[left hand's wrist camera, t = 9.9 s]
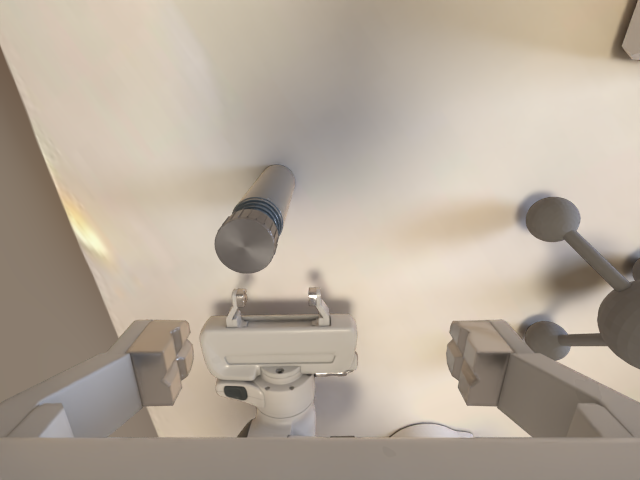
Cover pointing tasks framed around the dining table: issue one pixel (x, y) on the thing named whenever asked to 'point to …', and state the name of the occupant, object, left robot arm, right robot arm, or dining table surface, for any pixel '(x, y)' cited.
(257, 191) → the bottle
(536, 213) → the molecular model
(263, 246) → the cap
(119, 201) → the dining table surface
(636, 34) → the electronic device
